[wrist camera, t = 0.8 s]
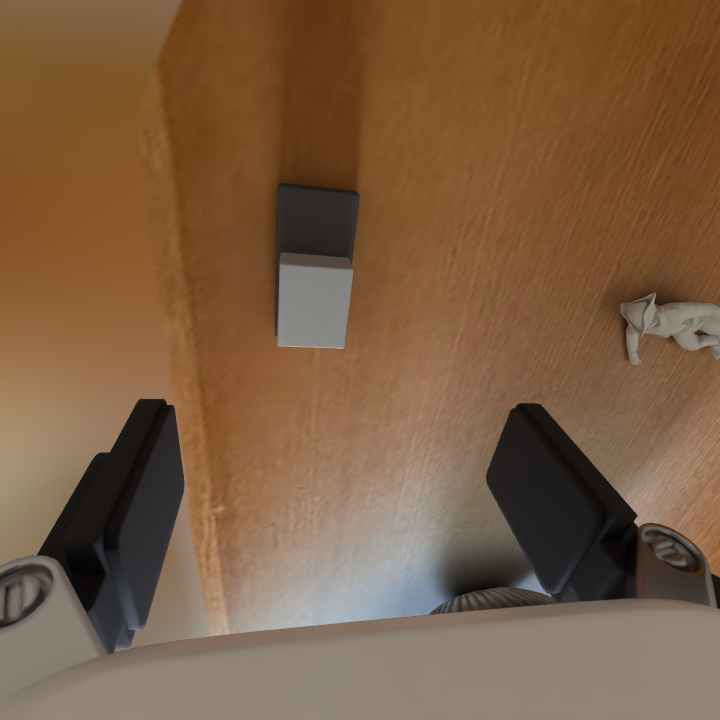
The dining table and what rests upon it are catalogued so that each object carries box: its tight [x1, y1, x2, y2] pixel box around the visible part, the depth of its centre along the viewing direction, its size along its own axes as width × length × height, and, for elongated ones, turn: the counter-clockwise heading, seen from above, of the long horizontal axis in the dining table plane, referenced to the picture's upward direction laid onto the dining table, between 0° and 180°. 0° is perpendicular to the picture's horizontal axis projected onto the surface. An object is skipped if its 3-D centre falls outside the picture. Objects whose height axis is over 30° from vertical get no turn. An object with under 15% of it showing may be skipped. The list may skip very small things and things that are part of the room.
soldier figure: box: [620, 293, 720, 365], centre depth 29 cm, size 8×5×12 cm
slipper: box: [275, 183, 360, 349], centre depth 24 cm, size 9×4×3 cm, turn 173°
